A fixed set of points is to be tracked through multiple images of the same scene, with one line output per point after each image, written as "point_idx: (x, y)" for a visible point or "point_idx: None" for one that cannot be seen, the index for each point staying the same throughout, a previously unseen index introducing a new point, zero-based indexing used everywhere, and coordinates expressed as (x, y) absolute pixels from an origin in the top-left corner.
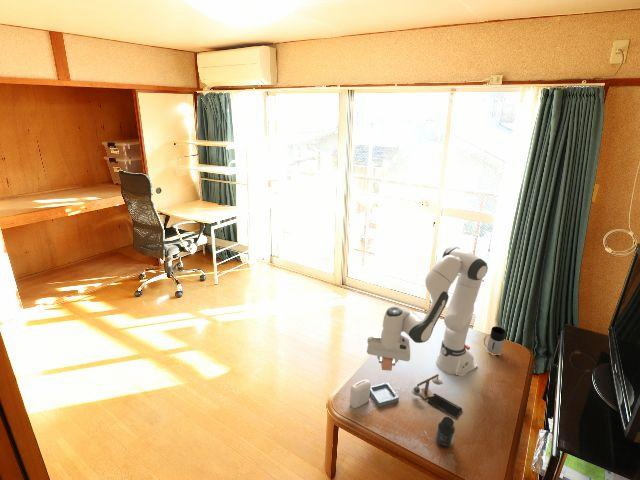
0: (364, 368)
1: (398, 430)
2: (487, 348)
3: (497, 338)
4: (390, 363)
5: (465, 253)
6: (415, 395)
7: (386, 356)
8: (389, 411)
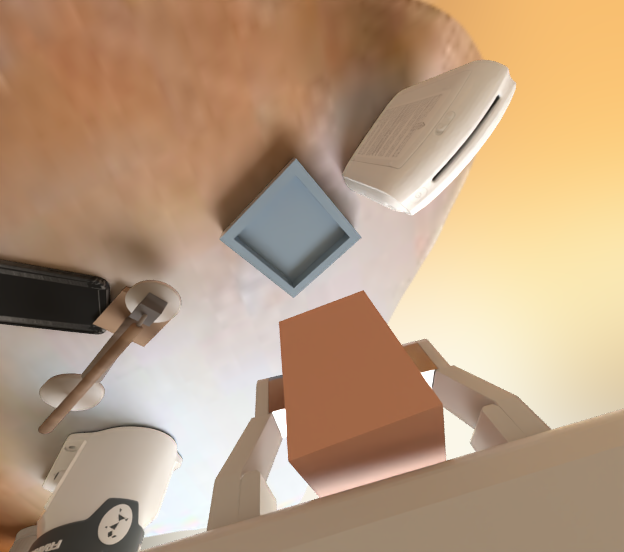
0: None
1: (138, 12)
2: None
3: None
4: (311, 389)
5: None
6: (149, 280)
7: (439, 507)
8: (238, 151)
